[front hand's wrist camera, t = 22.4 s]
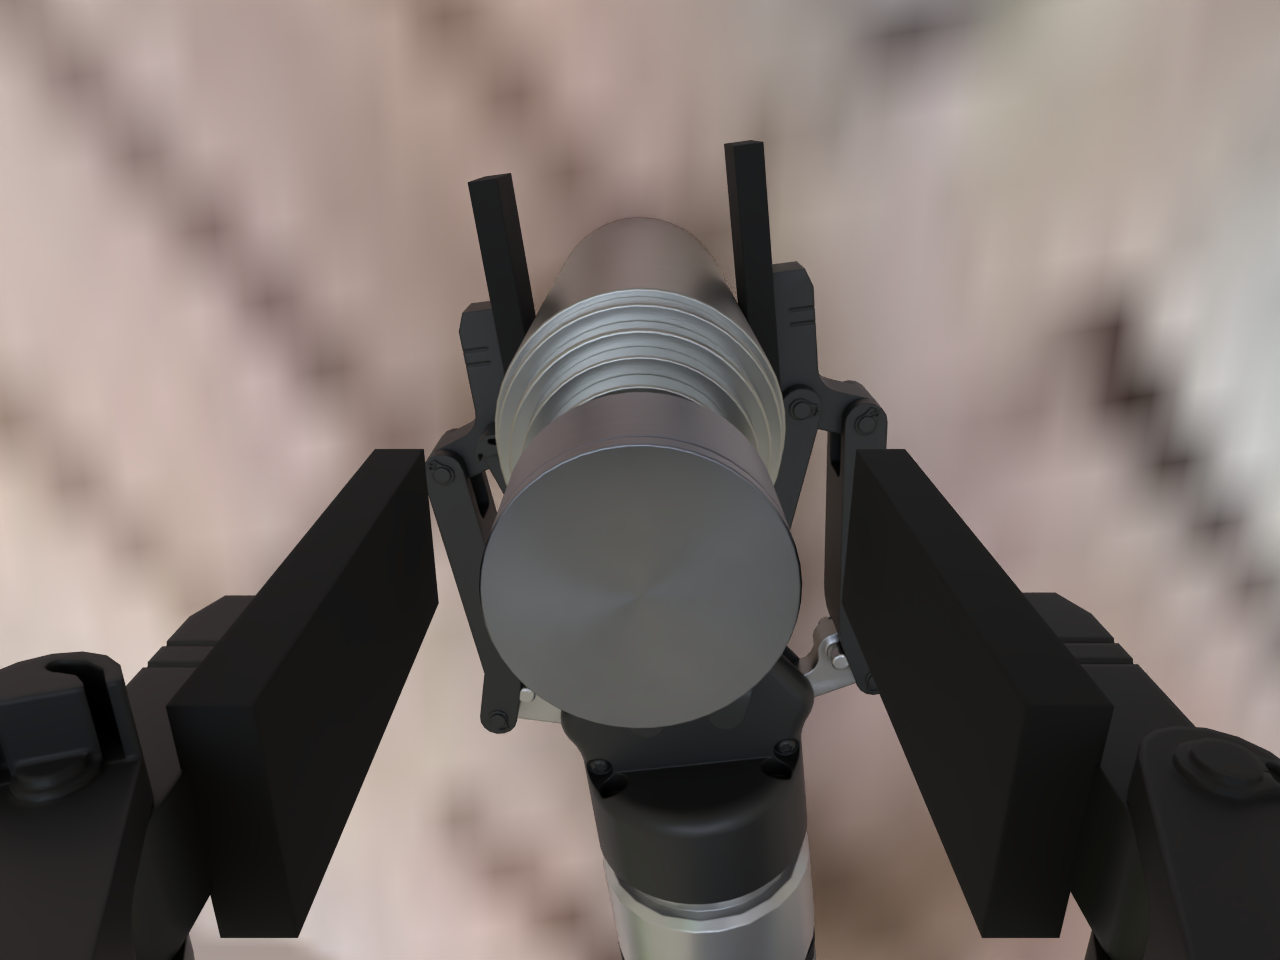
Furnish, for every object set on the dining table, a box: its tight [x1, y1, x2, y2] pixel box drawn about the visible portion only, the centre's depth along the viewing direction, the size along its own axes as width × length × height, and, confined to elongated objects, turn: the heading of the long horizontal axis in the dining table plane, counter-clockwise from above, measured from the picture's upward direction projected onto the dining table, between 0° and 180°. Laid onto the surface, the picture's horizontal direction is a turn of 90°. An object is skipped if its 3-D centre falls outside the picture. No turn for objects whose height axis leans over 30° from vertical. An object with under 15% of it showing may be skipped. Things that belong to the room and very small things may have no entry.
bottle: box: [495, 218, 786, 486], centre depth 22 cm, size 6×6×20 cm
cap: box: [479, 392, 802, 728], centre depth 13 cm, size 4×4×2 cm
